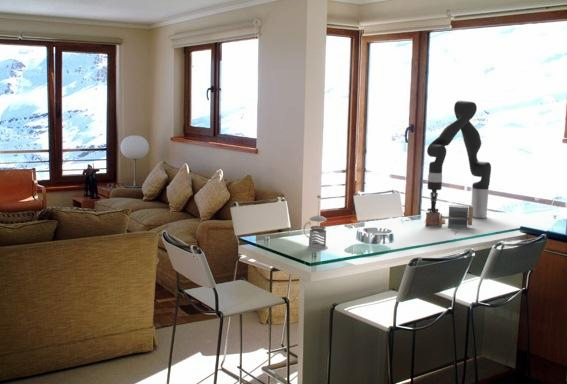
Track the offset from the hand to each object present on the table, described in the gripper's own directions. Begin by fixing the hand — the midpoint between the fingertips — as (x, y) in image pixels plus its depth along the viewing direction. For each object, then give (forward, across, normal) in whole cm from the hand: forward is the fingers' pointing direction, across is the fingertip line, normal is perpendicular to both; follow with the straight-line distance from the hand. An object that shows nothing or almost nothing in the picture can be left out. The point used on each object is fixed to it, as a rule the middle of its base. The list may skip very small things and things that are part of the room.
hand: (433, 209), depth 368 cm
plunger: (+8, 0, -13) cm, 15 cm away
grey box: (+9, 0, -14) cm, 16 cm away
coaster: (+9, +11, -2) cm, 14 cm away
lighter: (+9, -1, 0) cm, 9 cm away
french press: (+10, -72, +53) cm, 89 cm away
